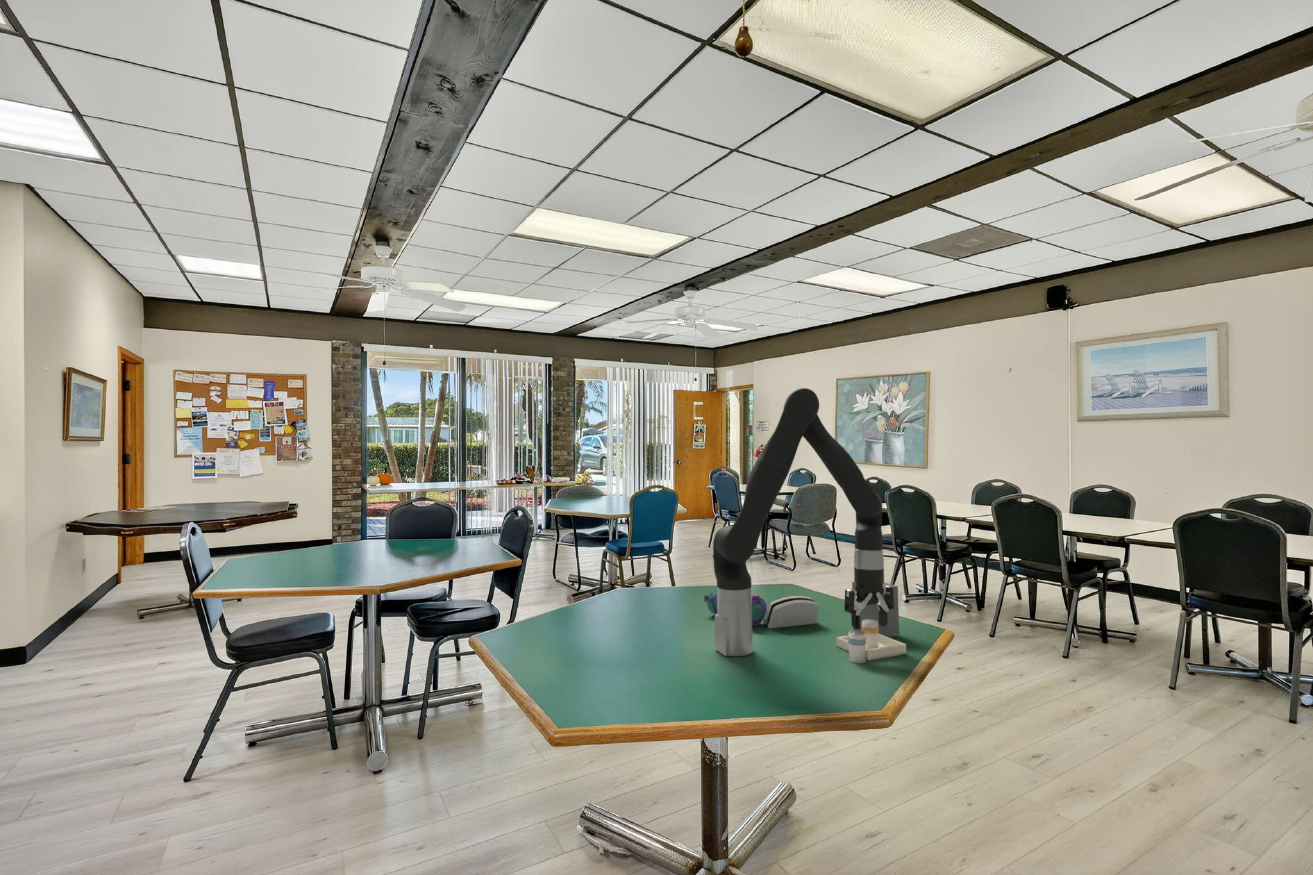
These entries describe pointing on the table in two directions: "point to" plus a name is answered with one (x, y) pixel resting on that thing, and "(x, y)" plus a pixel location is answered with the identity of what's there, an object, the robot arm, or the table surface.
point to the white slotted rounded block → (792, 612)
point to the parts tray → (885, 649)
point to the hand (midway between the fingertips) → (869, 627)
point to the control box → (873, 614)
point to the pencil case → (757, 606)
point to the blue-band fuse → (857, 646)
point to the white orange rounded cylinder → (871, 633)
